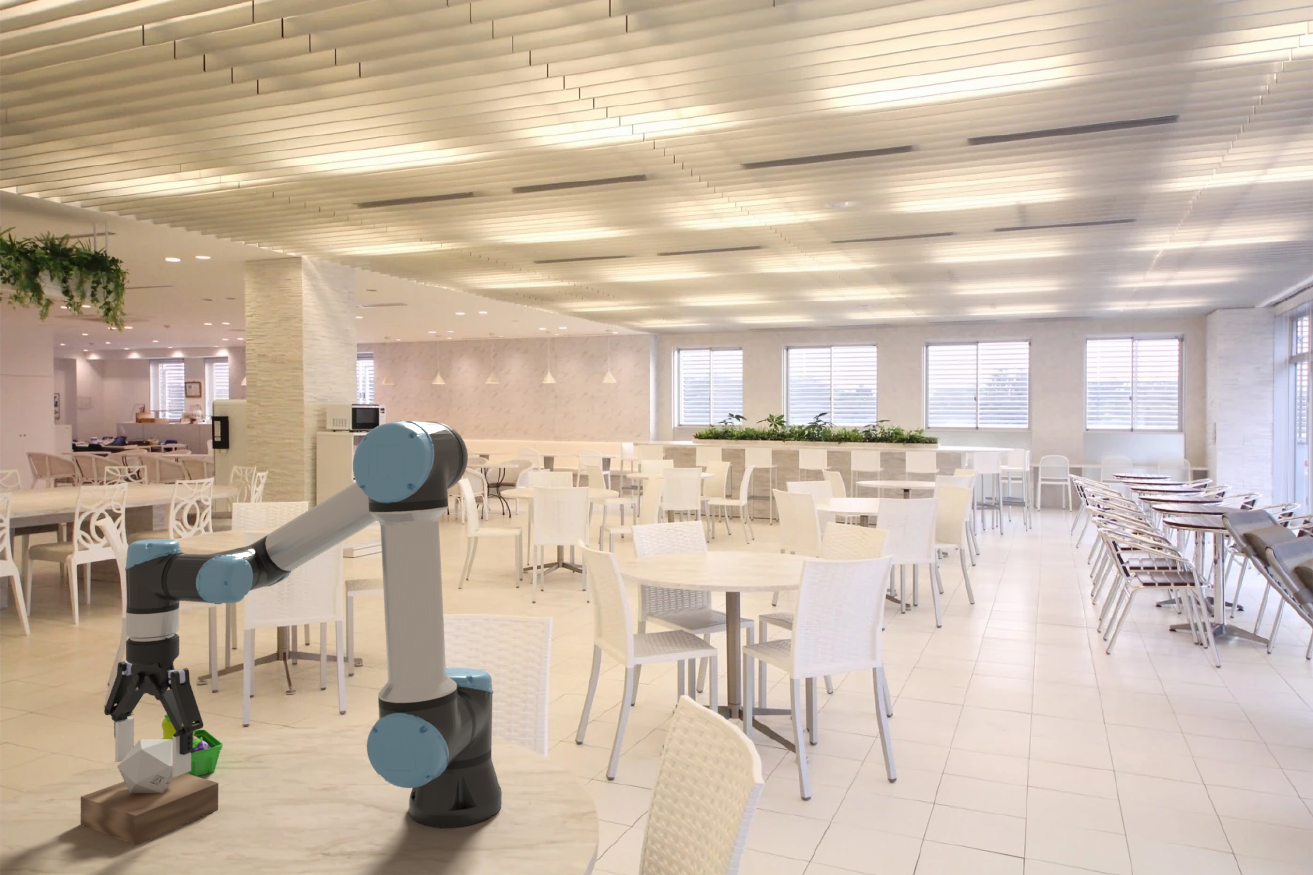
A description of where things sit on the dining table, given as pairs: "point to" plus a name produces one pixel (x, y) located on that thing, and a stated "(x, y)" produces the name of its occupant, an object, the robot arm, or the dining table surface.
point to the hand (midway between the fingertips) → (152, 766)
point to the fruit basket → (198, 749)
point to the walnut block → (148, 808)
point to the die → (148, 766)
